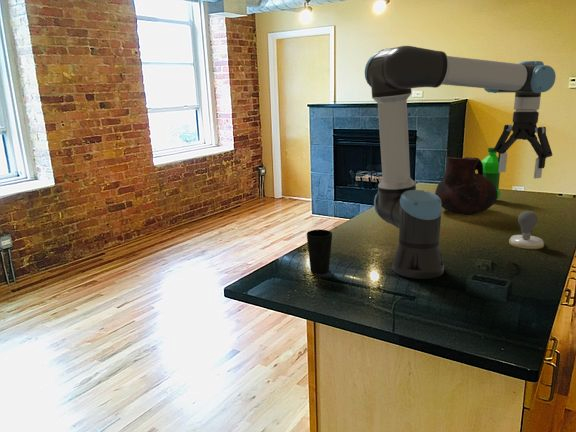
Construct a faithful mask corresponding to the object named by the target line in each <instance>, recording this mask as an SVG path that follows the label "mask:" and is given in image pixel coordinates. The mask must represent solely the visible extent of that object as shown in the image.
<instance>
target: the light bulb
mask: <svg viewBox="0 0 576 432" xmlns="http://www.w3.org/2000/svg"><path fill="white" fill-rule="evenodd" d="M517 221H518V225H519V226H520V229H521V231H520V232H521V235H522V238H523V239H525V240H527V239H530V236H532V235H531V234H532V232H533V230H534V228H535V227H536V225H537V224H538V221H539V218H538V216H537V214H536V213H535V212H534V211H530V210H524V211H523V212H520V214H519V215H518V218H517Z"/></svg>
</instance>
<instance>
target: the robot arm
mask: <svg viewBox="0 0 576 432" xmlns="http://www.w3.org/2000/svg"><path fill="white" fill-rule="evenodd" d="M556 75H557V74H556V71H555V69H554V68H553V67H552V66H551V65H548V64H546V65H545V64H544V62H543V61H542V60H541V61H540V60H526V61H520V62H519V63H514V62H513V63H512V62H505V61H494V60H488V59H487V60H486V59H478V58H477V59H476V58H467V57H460V56H451V55H448V54H446V52H445V51H442V50H435V49H429V48H424V47H418V46H412V45H402V46H396V47H391V48H388V47H387V48H384V49H381V50H379V51H377V52H375V53H373V54H372V55H371V56H370V57H369V58H368V60H367V61H366V64H365V68H364V78H365V80H366V81H365V82H366V83H367V85H369V87H370V88H371V99H373V100H374V101H375V102H376V103H377V112H378V113H377V114H378V127H379V130H378V131H379V144H380V157H381V158H380V162H381V177H382V180H380V182H379V183H378V185H377V187H378V188H377V189H378V190H377V193H376V194H375V196H374V198H373V199H374V200H373V207H374V210H375V213H377V215H378V217H380V218H381V220H383V221H385V222H386V223H388V224H391V226H394V227H395V228H397V229H398V230H399V231H398V244H397V245H398V246H397V248H396V251H395V252H394V253H395V254H394V256H393V258H392V261H391V270H392V271H393V272H394V273H396V274H397V275H399V276H401V277H405V278H408V279H409V278H410V279H418V280H419V279H420V280H429V279H435V278H436V279H437V277H441V276H442V275H444V272H445V263H444V260H443V256H442V253H441V249H440V248H441V247H440V237H441V235H440V234H441V221H442V220H441V219H442V212H443V208H442V206H441V199H440V198H439V197H438V196H437V195H436V194H435V192H434V193H433V192H431V191H429V190H428V191H425V190H421V189H417V184H416V183H417V182H416V181H415V180H413V179H412V177H411V168H410V167H411V165H410V164H411V163H410V144H409V143H410V142H409V140H410V139H409V124H408V123H409V122H408V106H407V105H408V103H407V102H408V101H407V100H408V99H409V97H410V96H411V95H412V89H418V88H433V89H434V88H435V89H436V88H439V87H441V86H443V85H444V86H455V87H465V88H466V87H467V88H477V89H483V90H484V91H485V92H487V93H490V94H491V93H492V94H493V93H494V94H497V93H499V94H500V93H510V94H511V93H514V102H513V110H514V112H513V115H512V123H513V124H504V125H503V131H502V133H501V135H500V136H499V138H498V140H497V142H496V144H495V146H493V148H494V151H497V152H496V153H498V156H497V157H498V162H499V172H500V174H501V173H506V170H507V161H508V153H507V152H508V150H509V149H510V147H512V146H513V144H514V143H515V142H516V141H517V140H523V141H527V142H529V144H530V145H531V147H532V148H533V151H534V152H535V153H536V155H537V158H535V165H534V173H533V179H541V178H542V174H543V169H545V167H546V161H547V158H550V157H553V152H552V149H551V145H550V142H549V139H548V136H547V128H546V126H539V127H537V123H538V122H539V115H540V113H539V111H538V110H539V109H540V106H541V97H542V93H546V92H548V91H550V90H551V89H552V88H553V86H554V84H555V82H556V78H557V77H556ZM511 132H512V133H511ZM510 134H511V135H510ZM536 134H537V135H536Z"/></svg>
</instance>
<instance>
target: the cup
mask: <svg viewBox="0 0 576 432" xmlns="http://www.w3.org/2000/svg"><path fill="white" fill-rule="evenodd" d="M306 240H307V250H308V259H309V267H310V268H309V269H310V273H313V274H316V275H325V274H327V273H329V271H330V262H331V251H332V243H333V242H332V240H333V232H332V231H331V230H327V229H311V230H308V231H307V232H306Z"/></svg>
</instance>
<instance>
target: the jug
mask: <svg viewBox="0 0 576 432" xmlns="http://www.w3.org/2000/svg"><path fill="white" fill-rule="evenodd" d="M445 158H446V159H445V160H446V167H445V171H444V175H443V179H441V181H440V182H439V183H437V186H436V188H435V192H434V194H436V195H437V196H438V197H439V198H440V199H441V206H442V209H444V210H445V211H448V212H449V213H452V214H455V215H462V216H474V215H478V214H480V213H481V214H482V213H484V212H485V211H488V209H490V208H491V207H492V206H494V204H495V203H496V202H497V196H498V193H497V189H496V187H495V185H494V184H493V182H492V181H490V180H489V179H487V178H486V177H484V176H483V164H482V162H481V161H482V160H481V159H480V158H479V157H468V156H467V157H449V156H446V157H445ZM476 171H477V173H476Z"/></svg>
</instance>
